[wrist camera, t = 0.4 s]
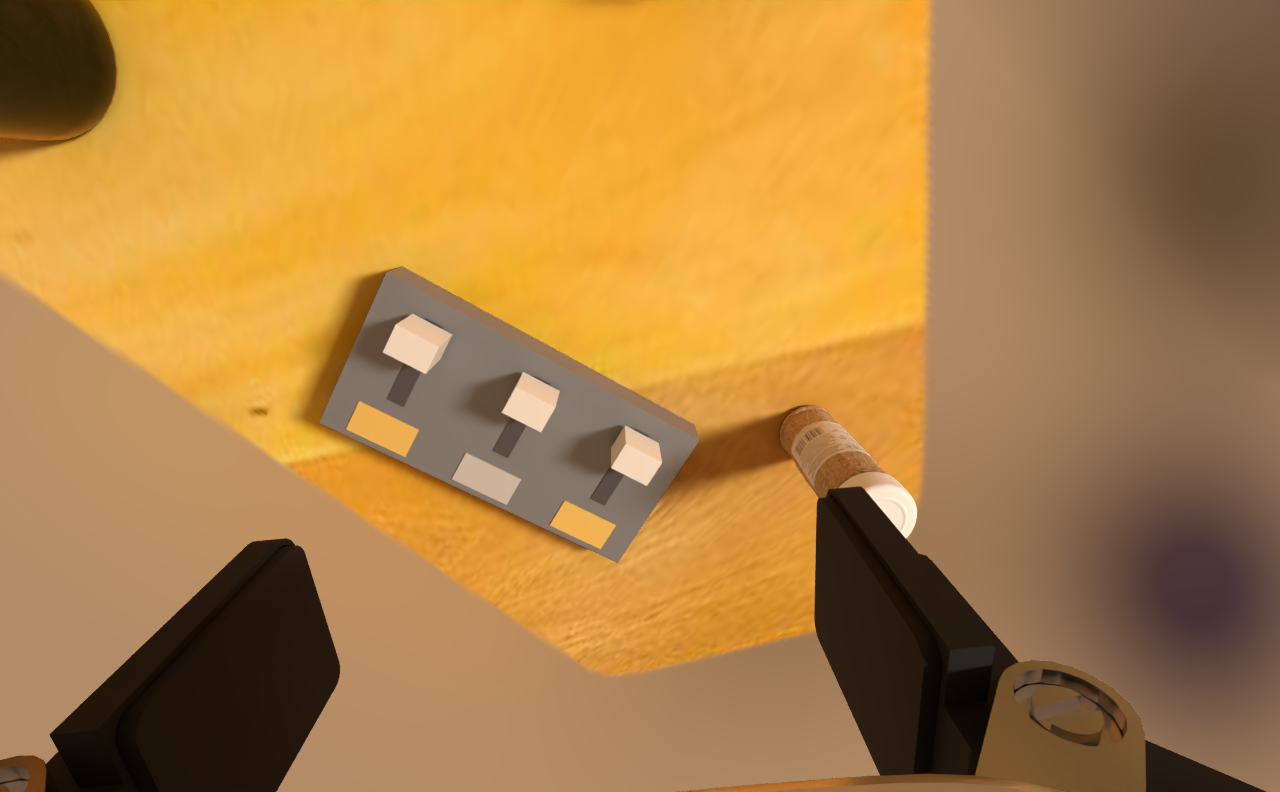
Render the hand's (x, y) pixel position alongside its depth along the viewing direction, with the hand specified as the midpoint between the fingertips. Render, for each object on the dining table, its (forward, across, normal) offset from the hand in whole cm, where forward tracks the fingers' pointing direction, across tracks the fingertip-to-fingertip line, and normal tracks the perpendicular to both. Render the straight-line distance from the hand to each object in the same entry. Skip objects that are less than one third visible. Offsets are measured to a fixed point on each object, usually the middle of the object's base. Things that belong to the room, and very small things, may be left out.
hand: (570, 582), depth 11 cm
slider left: (+30, +12, +1) cm, 32 cm away
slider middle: (+30, +5, +6) cm, 31 cm away
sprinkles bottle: (+33, -15, +12) cm, 38 cm away
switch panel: (+33, +7, +9) cm, 35 cm away
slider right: (+30, -1, +11) cm, 32 cm away
